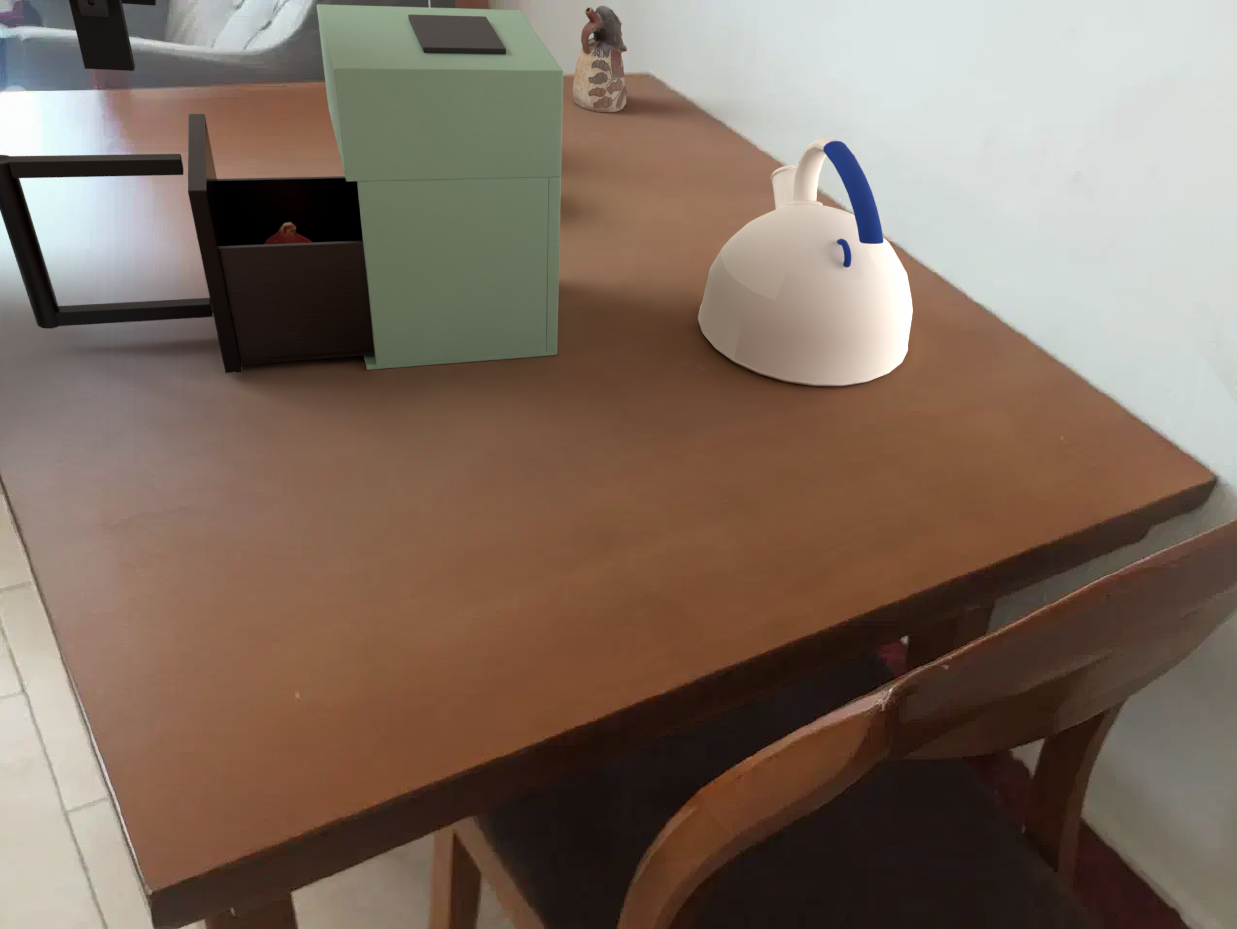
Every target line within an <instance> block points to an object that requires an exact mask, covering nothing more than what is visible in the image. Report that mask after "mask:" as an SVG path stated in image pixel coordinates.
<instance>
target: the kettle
mask: <svg viewBox="0 0 1237 929" xmlns="http://www.w3.org/2000/svg"><path fill="white" fill-rule="evenodd" d="M826 158H828V160H830V162H831V164H832V165H833V166H834V168H835V170H836V171H837V173H838V175H839V177H840V180H841V182H842V184H843V186H844V189H845V190H846V193H847V195H848V199H849V202H850V205H851V208H852V209H853V210H852V211H853V213H851V212H849V211H846V210H843V209H839V208H837V207H833V206H828V205H823V203H822V202H821V201H818V200H817V198H818V197H817V195H818V184H819V178H820V173H821V170H822V166H823V164H824V161H825V160H826ZM769 181H770V182H771V183H772V190H773V197H774V198H773V199H774V204H775V205H774V207H775V209H774V210H771V211H769V212H767V213H764V214H762V215H760V216H759V217H756V218H754V219H752V220H750V221H748V222H747V223H746V224H745V225H744V226H743V227H742V228H741V229H739V230H738V231H737V232H736V233H735V234H733V235H732V236H731V237H730V238H729V239H728V241H727V242H726V243H725V244H724V245H723V246H722V248H721V249H720V251H719V252H718V254H717V256H716V257H715V259H714V260H713V262H712V264H711V265H710V267H709V270H708V274H707V279H706V283H705V288H704V291H703V292H704V293H703V297H702V301H701V304H700V306H699V311H698V315H697V321H698V324H699V327H700V330H701V333H702V335H704V337H705V339H707V340H708V341H709V343H710V344H711V345H712V346H713V348H715V350H716V351H717V352H719V353H720V354H722V355H723V356H725V357H726V358H727V359H729V360H730V361H731V362H733V363H735V364H736V365H739V366H740V367H743V368H745V369H747V370H749V371H752V372H754V373H755V374H758V375H760V376H765V377H766V378H767V377H768V378H772V379H775V380H777V381H782V382H783V383H784V382H785V383H789V384H790V383H791V384H798V385H806V386H809V387H810V386H811V387H845V386H852V385H858V384H864V383H868V382H871V381H873V380H876V379H878V378H881V377H884V376H886V375H889V374H890V373H891V372H892V371H894V370H895V369H896V368H897V367H899V366H900V365H901V364H902V363H903V361H904V360H905V357H906V355H907V354H908V351H909V346H908V345H909V339H910V333H911V328H912V327H911V326H912V319H913V312H914V310H913V299H912V293H911V287H910V283H909V278H908V273H907V271H906V269H905V268H904V265H903V263H902V262H901V260H900V259H899V257H898V255H897V253H896V251H895V250H894V248H893V247H892V245H891V243H890V242H889V241H888V240H887V239H886V238H885V237H884V234H883V229H882V223H881V219H880V214H879V211H878V207H877V204H876V201H875V197H874V194H873V191H872V188H871V186H870V184H869V182H868V179H867V177H866V174H865V173H864V170H863V169H862V167H861V165H860V163H859V161H858V160H857V158H856V156H855V154H854V153H853V152H852V151H851V149H850V148H849V147H848V146H847V144H846V143H844V142H843V141H841V140H837V139H835V138H833V137H827V136H824V137H819V138H817V139H816V140H813V141H812V142H810V143H809V144H807V146H806V147H805V148H804V150H803V152H802V153H801V155H800V156H799V158H798V161H797V164H789V165H783V166H780V167H778V168H776V169H775V170H774V171H773V172H772V174H771V175H770V178H769Z"/></svg>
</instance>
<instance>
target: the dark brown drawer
mask: <svg viewBox="0 0 1237 929" xmlns="http://www.w3.org/2000/svg"><path fill="white" fill-rule="evenodd" d="M187 117H188V121H187V123H188V124H187V128H188V129H187V193H188V199H189V203H190V210H191V215H192V218H193V223H194V224H193V225H194V229H195V233H196V238H197V243H198V248H199V253H200V257H201V262H202V267H203V272H204V277H205V282H206V287H207V290H208V297H199V298H197V297H196V298H181V299H179V298H177V299H164V300H163V299H160V300H143V301H127V302H124V301H123V302H108V303H107V302H106V303H91V304H90V303H89V304H88V303H87V304H71V305H70V304H69V305H59V303H58V299H57V297H56V294H55V290H54V287H53V284H52V280H51V278H50V274H49V271H48V267H47V264H46V261H45V258H44V254H43V251H42V248H41V245H40V241H39V238H38V234H37V231H36V229H35V225H34V222H33V218H32V216H31V212H30V209H29V206H28V203H27V199H26V196H25V192H24V189H23V187H22V186H23V185H22V183H21V180H20V179H45V178H46V179H49V178H50V179H51V178H54V179H55V178H97V177H98V178H99V177H105V178H106V177H148V176H149V177H150V176H151V177H152V176H155V177H156V176H183V175H184V164H183V158H182V154H181V153H147V154H146V153H141V154H139V153H138V154H134V153H133V154H131V153H130V154H72V155H71V154H70V155H69V154H67V155H66V154H65V155H63V154H62V155H61V154H60V155H59V154H58V155H9V154H0V215H1V217H2V221H3V224H4V226H5V229H6V234H7V236H8V239H9V242H10V245H11V249H12V252H13V254H14V258H15V260H16V261H15V262H16V264H17V267H18V270H19V273H20V276H21V279H22V282H23V285H24V289H25V291H26V295H27V298H28V301H29V304H30V307H31V311H32V313H33V316H34V320H35V322H36V326H38V328H40V329H43V330H49V329H50V330H51V329H55V328H58V327H70V326H87V325H103V324H119V323H121V324H122V323H136V322H137V323H138V322H152V321H154V322H155V321H166V320H167V321H170V320H186V319H205V318H213V320H214V325H215V326H214V327H215V330H216V335H217V339H218V340H217V341H218V344H219V345H218V346H219V350H220V354H221V359H222V363H223V368H224V373H225V374H232V373H233V374H234V373H241V372H242V365H243V366H244V365H257V364H268V363H269V364H270V363H283V362H295V361H307V360H308V361H310V360H322V359H324V360H325V359H336V358H337V359H338V358H350V357H351V358H352V357H364V356H365V355H375V352H374V343H373V333H372V323H371V313H370V303H369V294H368V284H367V274H366V264H365V255H364V245H363V235H362V225H361V215H360V206H359V196H358V186H357V181H346V179H345V175H336V176H335V175H334V176H333V175H332V176H292V177H291V176H287V177H285V176H284V177H282V176H281V177H245V178H244V177H239V178H217V173H216V166H215V162H214V156H213V152H212V144H211V140H210V135H209V130H208V124H207V119H206V115H205V113H188V116H187ZM289 222H292V223H293V224H294V225H295V226H296V233H297V234H300V235H302V236H304V237H305V238H307V239H309V240H310V241H312V242H313V243H289V244H264V243H265V242H266V241H267V239H268V238H270V237H271V236H273V235H274V234H276V233H277V232H278V231H279V229H280V227H281V226H282V225H283V224H284V223H289ZM263 244H264V245H263Z"/></svg>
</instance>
